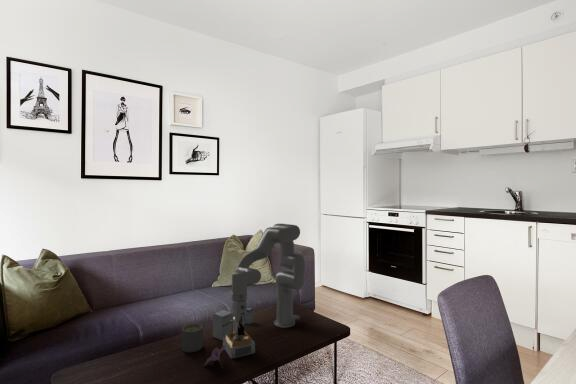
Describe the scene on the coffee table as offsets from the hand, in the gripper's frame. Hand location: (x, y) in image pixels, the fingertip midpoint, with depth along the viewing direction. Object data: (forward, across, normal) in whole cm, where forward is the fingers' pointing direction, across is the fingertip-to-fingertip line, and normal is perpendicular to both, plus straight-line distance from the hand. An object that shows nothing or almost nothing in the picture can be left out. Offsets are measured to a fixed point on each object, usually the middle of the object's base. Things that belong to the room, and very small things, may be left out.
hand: (238, 332), depth 164 cm
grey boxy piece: (+9, 0, 0) cm, 9 cm away
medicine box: (+9, +30, -15) cm, 35 cm away
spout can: (+2, 0, +1) cm, 3 cm away
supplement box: (+9, +18, +3) cm, 20 cm away
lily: (+9, -10, +14) cm, 19 cm away
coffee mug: (+9, +14, +20) cm, 26 cm away
